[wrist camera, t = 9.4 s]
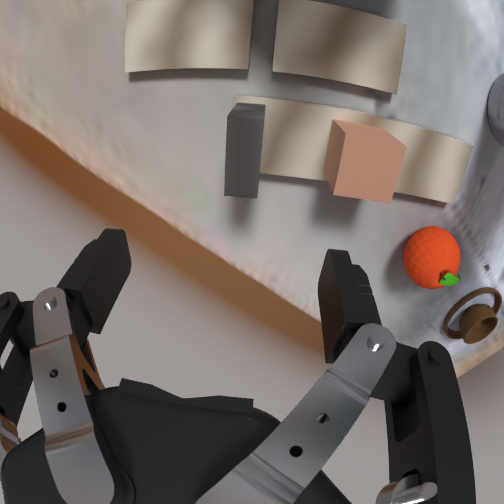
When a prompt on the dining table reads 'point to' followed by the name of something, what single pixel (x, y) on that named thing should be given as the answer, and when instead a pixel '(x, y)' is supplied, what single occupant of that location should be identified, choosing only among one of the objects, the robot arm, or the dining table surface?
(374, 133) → the terracotta block
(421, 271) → the clementine
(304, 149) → the unbroken strip
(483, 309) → the brown cup and saucer
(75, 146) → the dining table surface
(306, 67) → the broken strip
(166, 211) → the dining table surface
